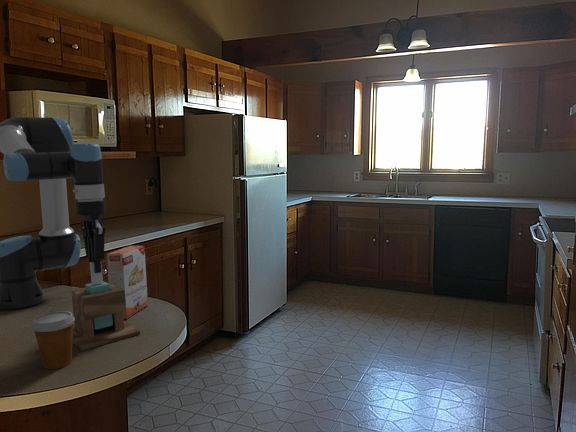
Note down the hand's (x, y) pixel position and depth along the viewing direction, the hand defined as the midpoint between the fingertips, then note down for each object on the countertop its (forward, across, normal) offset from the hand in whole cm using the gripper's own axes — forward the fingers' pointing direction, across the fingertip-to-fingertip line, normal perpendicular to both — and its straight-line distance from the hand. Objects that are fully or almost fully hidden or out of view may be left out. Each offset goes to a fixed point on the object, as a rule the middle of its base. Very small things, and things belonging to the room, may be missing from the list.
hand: (97, 283), depth 134 cm
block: (+12, 0, 0) cm, 12 cm away
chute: (+15, 0, 0) cm, 15 cm away
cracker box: (+15, -13, +14) cm, 24 cm away
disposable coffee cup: (+15, +12, -15) cm, 24 cm away
